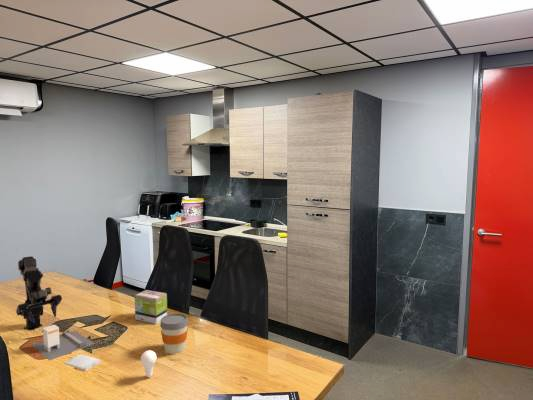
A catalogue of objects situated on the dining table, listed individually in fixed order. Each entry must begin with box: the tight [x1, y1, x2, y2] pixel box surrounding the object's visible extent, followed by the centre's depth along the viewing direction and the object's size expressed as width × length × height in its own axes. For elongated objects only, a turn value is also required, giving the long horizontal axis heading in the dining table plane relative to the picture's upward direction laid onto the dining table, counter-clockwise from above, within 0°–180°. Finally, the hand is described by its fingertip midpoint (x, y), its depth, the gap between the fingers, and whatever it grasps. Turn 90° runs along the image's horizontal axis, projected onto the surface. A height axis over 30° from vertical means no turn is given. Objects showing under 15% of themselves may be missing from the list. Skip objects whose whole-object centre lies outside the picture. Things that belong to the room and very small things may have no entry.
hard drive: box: [64, 354, 102, 372], centre depth 161 cm, size 2×8×12 cm
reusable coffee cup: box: [160, 313, 189, 355], centre depth 172 cm, size 12×13×15 cm
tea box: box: [134, 289, 168, 325], centre depth 207 cm, size 15×10×15 cm, turn 68°
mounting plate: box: [31, 330, 95, 361], centre depth 177 cm, size 22×20×1 cm
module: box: [42, 324, 60, 352], centre depth 172 cm, size 5×5×10 cm
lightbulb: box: [140, 350, 158, 378], centre depth 150 cm, size 6×6×11 cm
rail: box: [61, 329, 86, 348], centre depth 181 cm, size 20×3×2 cm, turn 50°
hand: (45, 319), depth 176 cm, fingers open, 9 cm apart
